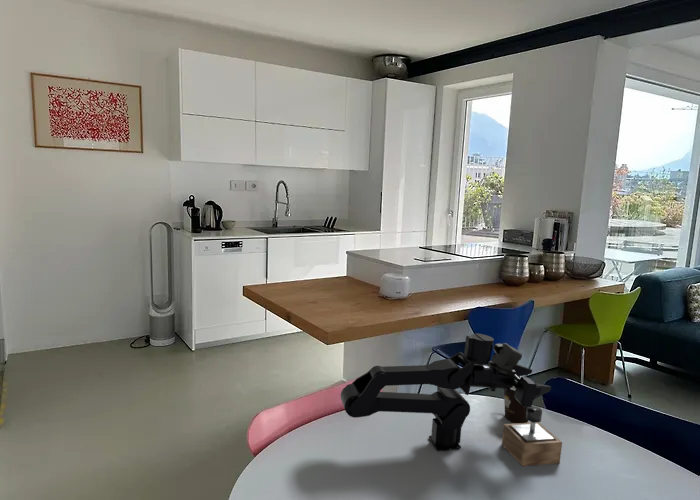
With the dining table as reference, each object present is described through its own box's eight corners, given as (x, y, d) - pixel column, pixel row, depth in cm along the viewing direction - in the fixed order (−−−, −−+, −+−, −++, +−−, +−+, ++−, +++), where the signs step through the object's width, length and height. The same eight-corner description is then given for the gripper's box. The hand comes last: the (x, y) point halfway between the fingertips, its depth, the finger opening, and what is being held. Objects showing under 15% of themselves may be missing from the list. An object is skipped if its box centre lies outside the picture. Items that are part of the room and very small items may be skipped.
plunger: (526, 442, 120) (529, 417, 119) (510, 427, 127) (513, 403, 126) (554, 440, 121) (556, 415, 120) (536, 425, 129) (539, 401, 128)
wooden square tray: (522, 466, 119) (524, 444, 118) (501, 444, 129) (503, 424, 128) (559, 463, 121) (562, 442, 120) (536, 441, 131) (538, 422, 130)
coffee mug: (534, 427, 138) (538, 393, 137) (502, 423, 140) (505, 389, 138) (528, 409, 150) (531, 377, 148) (498, 405, 151) (501, 374, 150)
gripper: (510, 363, 116) (569, 368, 119) (477, 332, 134) (529, 336, 137) (499, 406, 119) (558, 409, 122) (469, 370, 136) (520, 373, 139)
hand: (540, 379), depth 130 cm, fingers open, 9 cm apart
